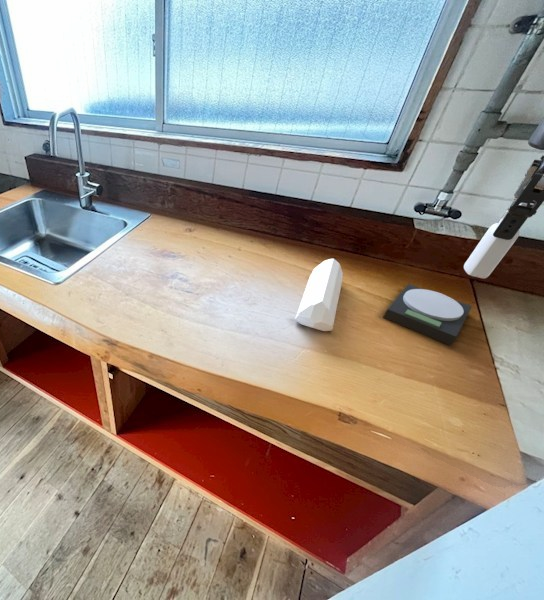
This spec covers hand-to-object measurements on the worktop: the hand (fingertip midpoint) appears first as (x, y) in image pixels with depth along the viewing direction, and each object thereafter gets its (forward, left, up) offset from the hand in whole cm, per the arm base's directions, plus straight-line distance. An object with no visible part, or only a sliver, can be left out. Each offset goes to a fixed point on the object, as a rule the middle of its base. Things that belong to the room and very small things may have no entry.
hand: (504, 230), depth 51 cm
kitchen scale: (+3, -8, -24) cm, 26 cm away
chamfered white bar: (+21, +4, -24) cm, 32 cm away
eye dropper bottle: (0, 0, -8) cm, 8 cm away
